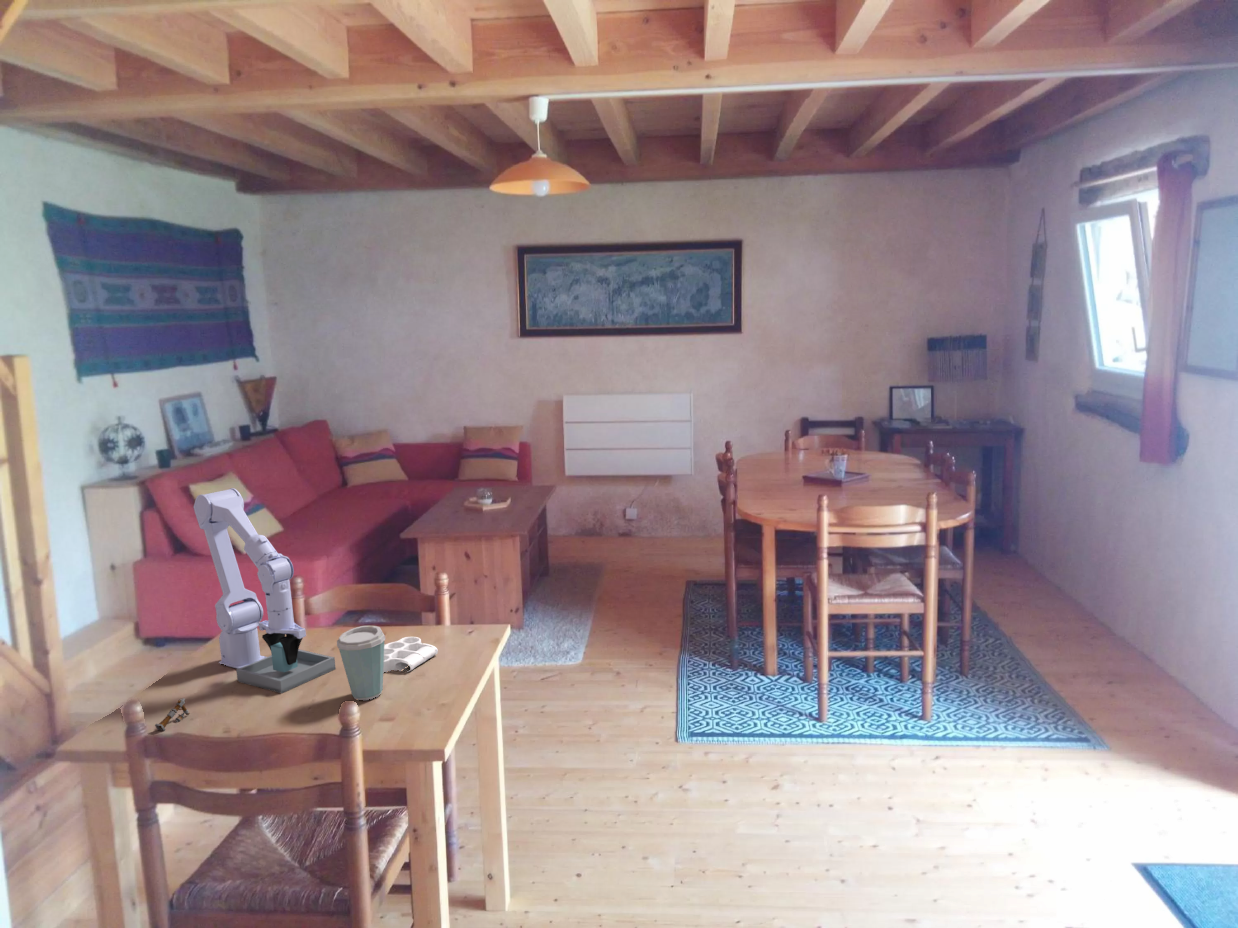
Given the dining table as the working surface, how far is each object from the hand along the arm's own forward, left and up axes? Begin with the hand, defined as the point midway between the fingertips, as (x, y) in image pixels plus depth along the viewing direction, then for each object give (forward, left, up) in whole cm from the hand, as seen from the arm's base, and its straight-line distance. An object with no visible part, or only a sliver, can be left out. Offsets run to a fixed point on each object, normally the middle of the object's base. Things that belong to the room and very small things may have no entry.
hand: (285, 661), depth 224 cm
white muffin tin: (+19, +19, -4) cm, 27 cm away
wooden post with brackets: (-1, -30, -4) cm, 30 cm away
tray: (0, 0, -3) cm, 3 cm away
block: (0, 0, -2) cm, 2 cm away
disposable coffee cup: (+27, 0, -4) cm, 27 cm away
